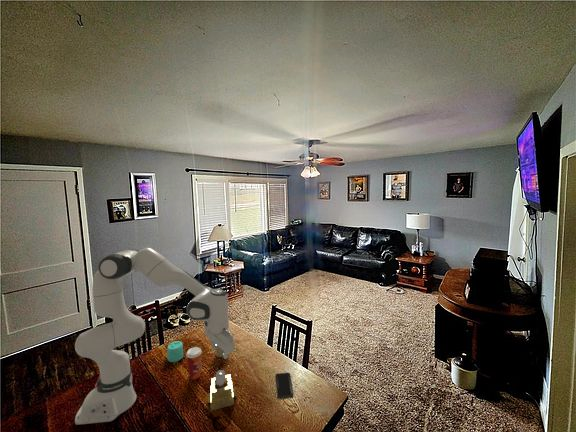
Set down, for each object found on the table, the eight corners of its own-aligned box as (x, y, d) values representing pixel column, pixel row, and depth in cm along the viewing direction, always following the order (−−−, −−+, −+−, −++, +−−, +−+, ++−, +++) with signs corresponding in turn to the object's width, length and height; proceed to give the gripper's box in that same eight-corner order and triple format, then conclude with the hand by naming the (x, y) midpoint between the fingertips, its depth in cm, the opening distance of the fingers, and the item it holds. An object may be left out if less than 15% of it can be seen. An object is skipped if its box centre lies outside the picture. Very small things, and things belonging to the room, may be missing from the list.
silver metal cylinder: (214, 394, 114) (213, 376, 113) (218, 387, 119) (217, 369, 118) (224, 395, 114) (223, 377, 113) (227, 387, 118) (226, 370, 117)
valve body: (207, 411, 110) (206, 394, 109) (207, 394, 120) (207, 378, 119) (237, 403, 114) (236, 387, 113) (235, 387, 123) (234, 372, 123)
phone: (289, 372, 132) (293, 395, 117) (289, 374, 132) (293, 397, 118) (275, 373, 131) (276, 396, 117) (275, 375, 132) (276, 399, 117)
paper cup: (197, 382, 127) (196, 356, 126) (184, 379, 129) (182, 354, 128) (205, 371, 135) (204, 347, 134) (193, 369, 137) (191, 345, 135)
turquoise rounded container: (183, 360, 145) (182, 347, 144) (167, 363, 141) (167, 350, 141) (183, 352, 152) (182, 339, 151) (168, 355, 149) (167, 342, 148)
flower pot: (222, 347, 156) (222, 334, 155) (232, 352, 151) (232, 339, 150) (210, 355, 148) (209, 341, 148) (220, 361, 143) (219, 347, 142)
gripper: (237, 330, 108) (238, 360, 110) (213, 314, 122) (214, 340, 124) (225, 337, 104) (226, 367, 105) (201, 319, 118) (203, 346, 119)
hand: (219, 353), depth 115 cm, fingers open, 8 cm apart
